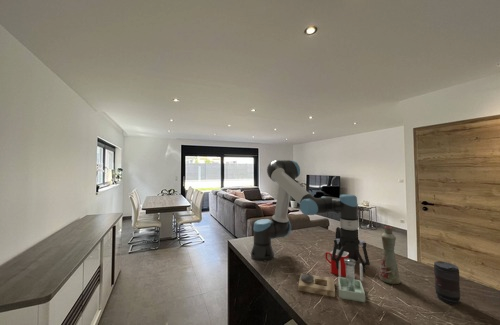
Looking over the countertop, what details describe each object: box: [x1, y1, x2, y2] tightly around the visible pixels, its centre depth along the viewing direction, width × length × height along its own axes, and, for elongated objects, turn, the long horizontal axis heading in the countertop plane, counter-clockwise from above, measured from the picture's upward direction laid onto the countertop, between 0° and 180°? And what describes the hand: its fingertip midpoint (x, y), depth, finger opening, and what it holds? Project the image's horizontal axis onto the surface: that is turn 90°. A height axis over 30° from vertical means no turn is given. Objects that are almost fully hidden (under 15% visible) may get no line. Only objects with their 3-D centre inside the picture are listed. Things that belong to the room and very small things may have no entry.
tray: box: [337, 276, 366, 303], centre depth 95 cm, size 10×12×4 cm
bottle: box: [378, 225, 401, 285], centre depth 106 cm, size 9×9×28 cm
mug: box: [325, 250, 349, 278], centre depth 116 cm, size 12×8×11 cm
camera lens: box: [433, 260, 461, 305], centre depth 90 cm, size 8×8×15 cm
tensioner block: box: [298, 272, 336, 298], centre depth 100 cm, size 16×12×4 cm
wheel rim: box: [335, 226, 360, 262], centre depth 132 cm, size 20×9×20 cm, turn 168°
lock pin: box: [344, 258, 357, 292], centre depth 96 cm, size 5×5×14 cm
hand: (350, 277), depth 96 cm, fingers open, 8 cm apart
